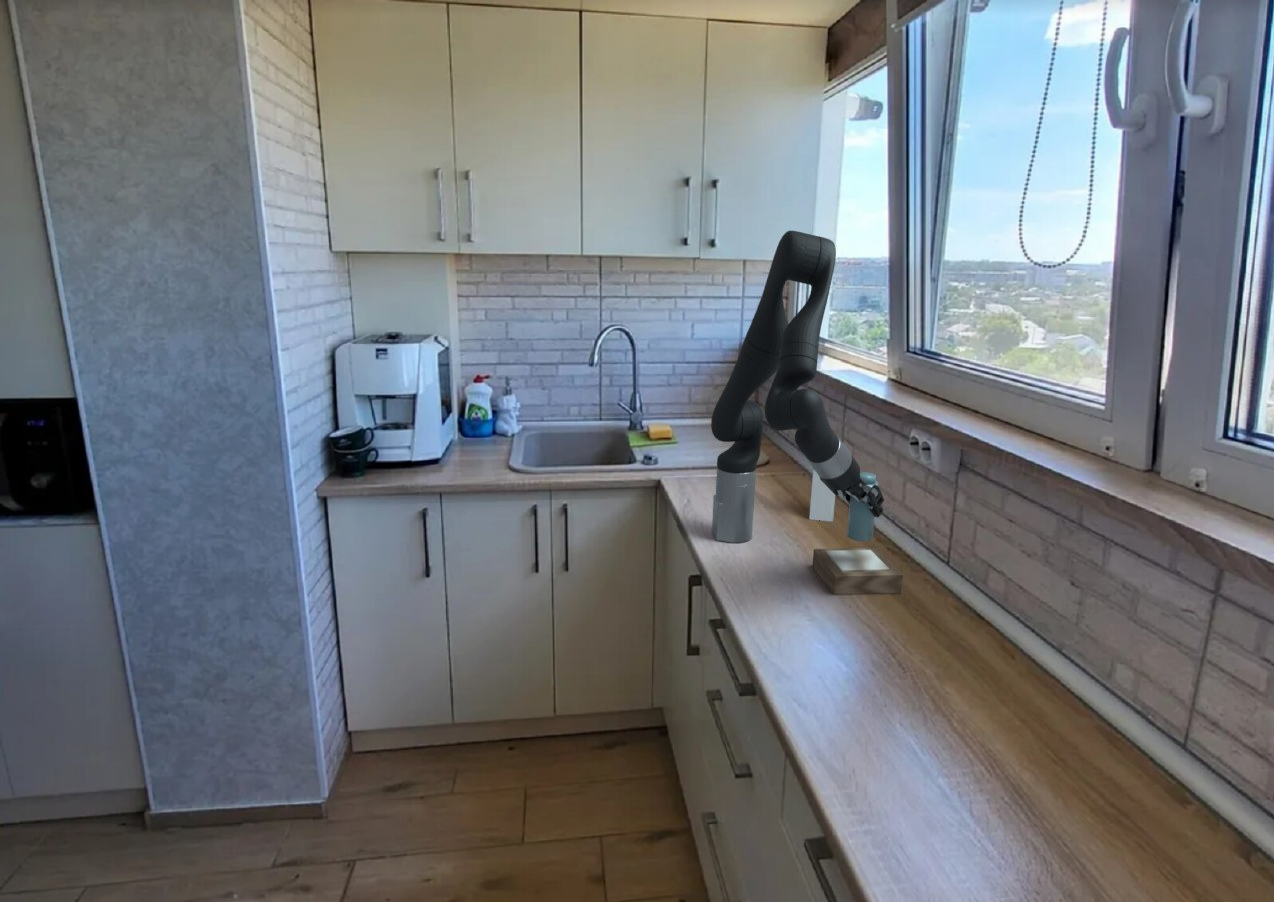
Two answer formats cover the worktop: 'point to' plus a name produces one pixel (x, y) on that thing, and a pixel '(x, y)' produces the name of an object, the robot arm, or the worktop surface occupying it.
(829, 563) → the plinth
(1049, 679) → the worktop surface
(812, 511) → the milk
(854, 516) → the blue capped bottle
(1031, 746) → the worktop surface
